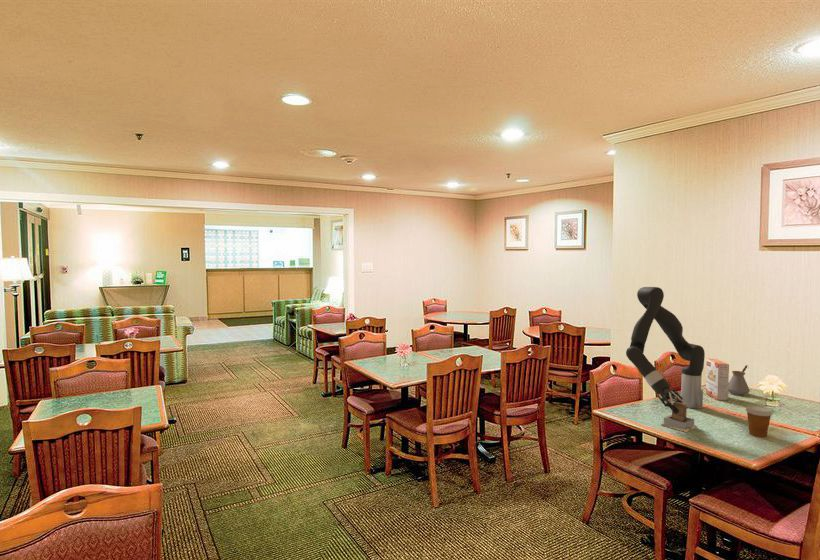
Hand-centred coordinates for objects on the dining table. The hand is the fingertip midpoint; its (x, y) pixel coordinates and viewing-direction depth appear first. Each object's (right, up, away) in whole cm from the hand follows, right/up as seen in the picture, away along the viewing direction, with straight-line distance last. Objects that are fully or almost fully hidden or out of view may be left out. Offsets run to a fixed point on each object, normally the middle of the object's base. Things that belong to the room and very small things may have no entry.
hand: (681, 411), depth 222 cm
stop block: (-1, -7, +1) cm, 7 cm away
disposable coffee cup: (+29, -8, -9) cm, 31 cm away
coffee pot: (+70, -6, +61) cm, 93 cm away
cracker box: (+48, -6, +50) cm, 70 cm away
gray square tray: (-1, -7, +1) cm, 7 cm away
